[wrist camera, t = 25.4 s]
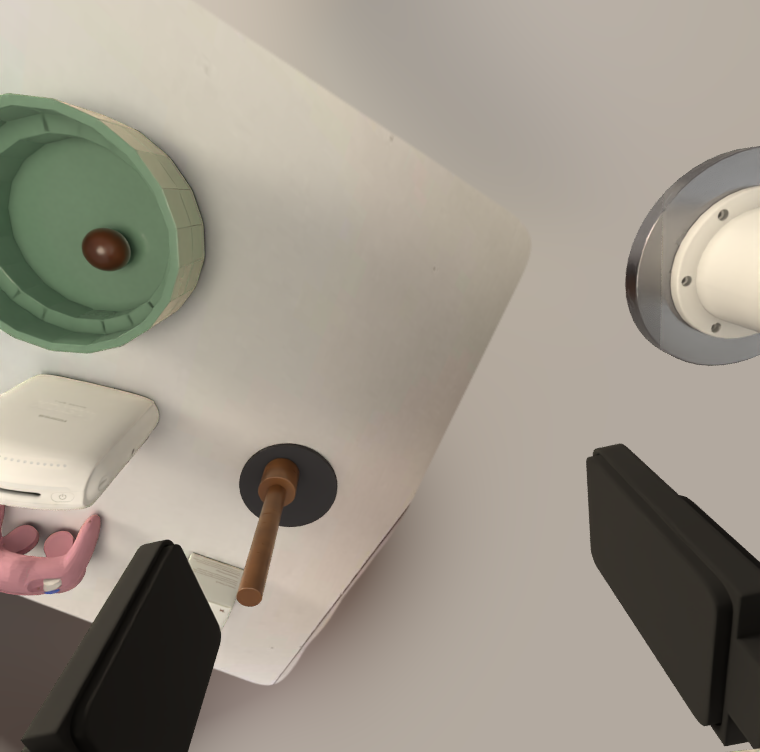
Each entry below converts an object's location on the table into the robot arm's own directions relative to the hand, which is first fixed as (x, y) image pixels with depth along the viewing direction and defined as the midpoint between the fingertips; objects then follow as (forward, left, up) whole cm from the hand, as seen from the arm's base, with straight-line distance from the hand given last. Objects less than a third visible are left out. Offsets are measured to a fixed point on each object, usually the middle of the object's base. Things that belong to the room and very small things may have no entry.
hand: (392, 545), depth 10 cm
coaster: (+11, +16, -28) cm, 34 cm away
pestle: (+11, +14, -28) cm, 33 cm away
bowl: (+18, -9, -28) cm, 35 cm away
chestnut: (+17, -8, -26) cm, 32 cm away
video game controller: (+34, +15, -28) cm, 47 cm away
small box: (+22, +25, -28) cm, 44 cm away
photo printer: (+24, +4, -28) cm, 38 cm away
